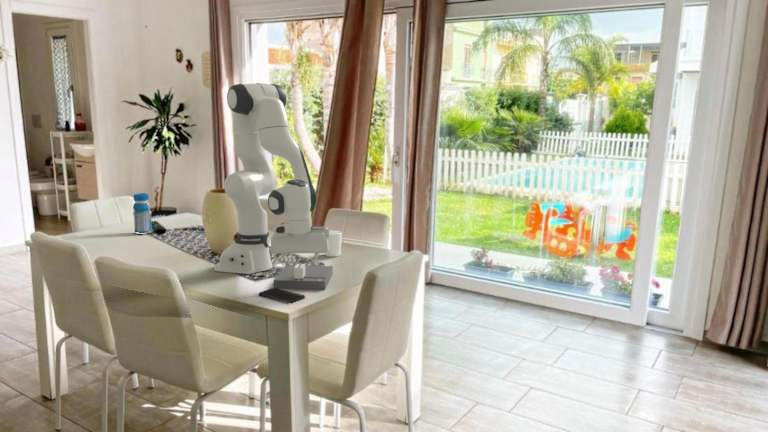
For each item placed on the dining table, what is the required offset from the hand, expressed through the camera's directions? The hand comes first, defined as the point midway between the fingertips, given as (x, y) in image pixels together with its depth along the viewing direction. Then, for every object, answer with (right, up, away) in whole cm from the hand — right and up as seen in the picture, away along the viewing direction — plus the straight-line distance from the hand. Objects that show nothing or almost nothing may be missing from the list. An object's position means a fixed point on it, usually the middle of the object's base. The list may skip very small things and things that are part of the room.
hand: (300, 265), depth 203 cm
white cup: (+7, 0, +46) cm, 47 cm away
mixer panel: (0, -6, +8) cm, 10 cm away
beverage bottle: (-91, +8, +85) cm, 125 cm away
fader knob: (0, -4, +1) cm, 4 cm away
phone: (-5, -10, -10) cm, 15 cm away
